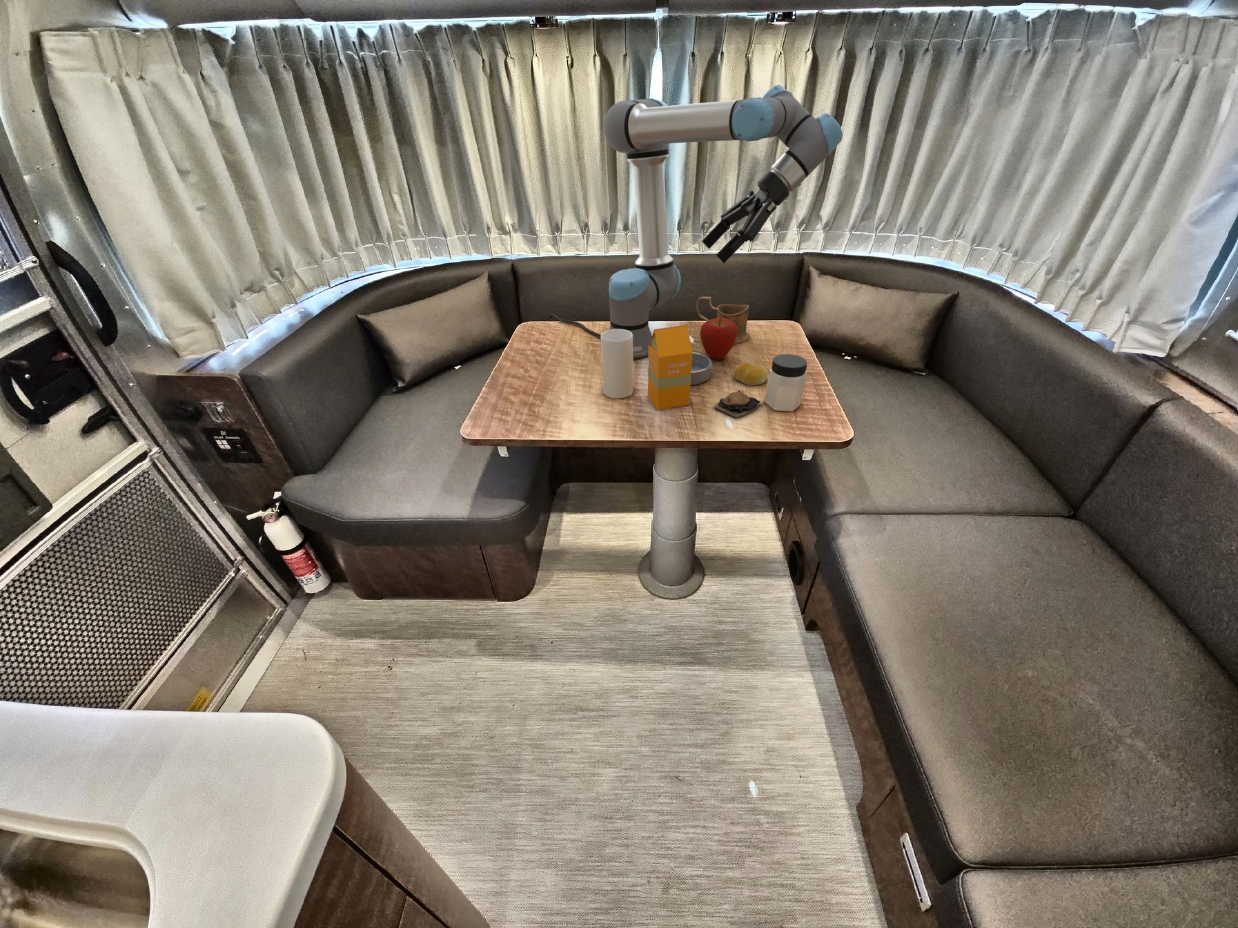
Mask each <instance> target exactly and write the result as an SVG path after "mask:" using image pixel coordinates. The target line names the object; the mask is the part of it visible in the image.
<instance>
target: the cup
mask: <svg viewBox="0 0 1238 928" xmlns="http://www.w3.org/2000/svg"><path fill="white" fill-rule="evenodd" d="M600 334H601V338H600V352H601V353H600V354H601V355H600V356H601V377H602V378H601V379H602V393H603V395H604V396H606V397H608V398H611V399H624V398H627V397H630V396H631V395H632V394H633V393H634V359H633V334H632V333H631V332H630V331H628V330H623V329H612V330H610V329H607V330H605V331H602V333H600Z"/></svg>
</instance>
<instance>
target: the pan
mask: <svg viewBox="0 0 1238 928" xmlns="http://www.w3.org/2000/svg"><path fill="white" fill-rule="evenodd" d="M711 359H712V358H711V357H709V356H708V355H705V354H703V353H699V352H694V351H692V367H691V384H690V386H696V385H700V384H702V383H705V382H706V381H707V380H709V379H710V378H711V377H712V371H713V362H712V360H711Z"/></svg>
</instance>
